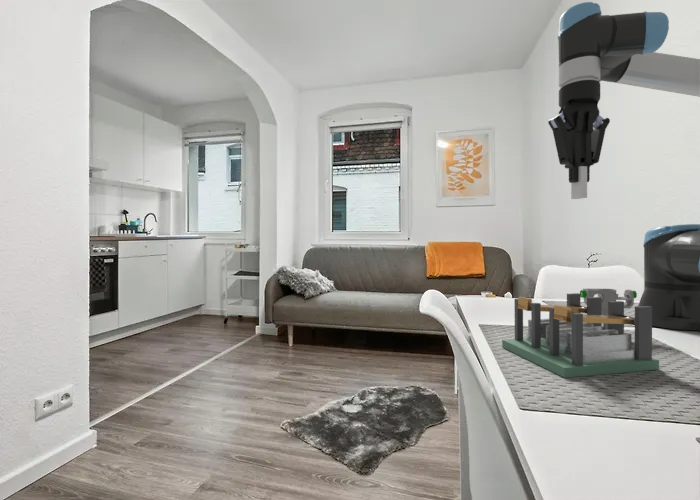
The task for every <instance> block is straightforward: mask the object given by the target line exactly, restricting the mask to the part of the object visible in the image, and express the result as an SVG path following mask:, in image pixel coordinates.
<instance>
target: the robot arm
mask: <svg viewBox="0 0 700 500" xmlns="http://www.w3.org/2000/svg"><path fill="white" fill-rule="evenodd" d="M558 22H559V23H558V33H557V40H558V41H557V42H558V87H559V90H558V106H559V108H560V109H559V110H558V114H557V115H556V116H555V117H553V118H550V119H549V120H548V125H549V127H550V129H551V130H552V134H553V138H554V142H555V143H554V144H555V148H556V152H557V157H558V161H559V165H561V166H562V165H564V168H565V169H568V182H569V184H570V185H571V190H570V192H571V193H570V194H571V200H581V199H587V198H588V183H589V182H590V171H591V170H590V168H591V166H593V165H595V164H598V163H599V161H600V157H601V152H602V148H603V143H604V138H605V133H606V130H607V128H608V126H609V124H610V122H611V119H610V118H609V117H605V118H604V117H603V116H601V115H600V109H599V107H598V104H599V102H600V99H601V82H607V83H614V84H615V83H616V84H620V85H621V84H622V85H627V86H633V87H640V88H645V89H652V90H657V91H663V92H669V93H675V94H681V95H685V96H686V95H687V96H692V97H699V98H700V58H695V57H690V56H689V57H688V56H687V57H686V56H682V55H675V54H668V53H662V52H657V51H658V50H659V49H660V48H662V46H663V44H664V43H665V41H666V39H667V36H668V33H669V29H670V28H669V27H670V26H669V17H668V15H667V14H666V13H665V12H663V11H643V12H632V13H621V14H612V15H611V14H604V15H603V14H602V11H601V6H600V4H598V3H596V2H592V1H585V2H581V3H577V4H575V5H573V6H570V7H569V8H567V9H566V10H565V11H564V12H563V13H562V15H561V16H560V18H559V20H558ZM642 246H643V248H644V251H643V252H644V253H643V257H644V258H643V261H644V262H643V264H644V265H643V266H644V267H643V269H644V270H643V271H644V272H643V275H644V276H643V279H644V280H643V281H644V283H643V284H644V285H643V286H644V287H643V292H642V294H641V297H640V300H639V303H638V306H650V307H652V327H656V328H657V327H658V328H663V329H671V330H682V331H697V332H698V331H700V224H698V223H690V224H688V223H687V224H676V225H674V224H673V225H665V226H658V227H655V228H650V229H649V230H647V231H646V232H645V234H644V241H643V245H642Z"/></svg>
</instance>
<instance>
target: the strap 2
mask: <svg viewBox="0 0 700 500" xmlns="http://www.w3.org/2000/svg"><path fill="white" fill-rule="evenodd" d="M553 305H554V319H557V320H561V321H564V322H572V308H568V307H564V306H565V305H560V306H559V305H557V304H553ZM583 323H602V324H603V323H607V324H624V325H633V326H635V316H628V315H625V314H624V315H618V316H607V315H587V314H583Z"/></svg>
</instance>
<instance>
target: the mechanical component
mask: <svg viewBox="0 0 700 500" xmlns="http://www.w3.org/2000/svg"><path fill="white" fill-rule="evenodd" d="M579 294H580V299H581V298H583V303H584V304H585V305H586V306H587V298H588V297H595V295H597V297H601V298H602V315H607V316H608V302H610V301H624V309H630V308H633V306H634V302H635V299H637V297H638V293H637V291H636V290H632V289H625V290H624V293H623V296H619V294H618V293H617V289H613V288H582V289H581V290H579ZM602 326H603V327H605V330H608V324H607V323H602Z"/></svg>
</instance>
